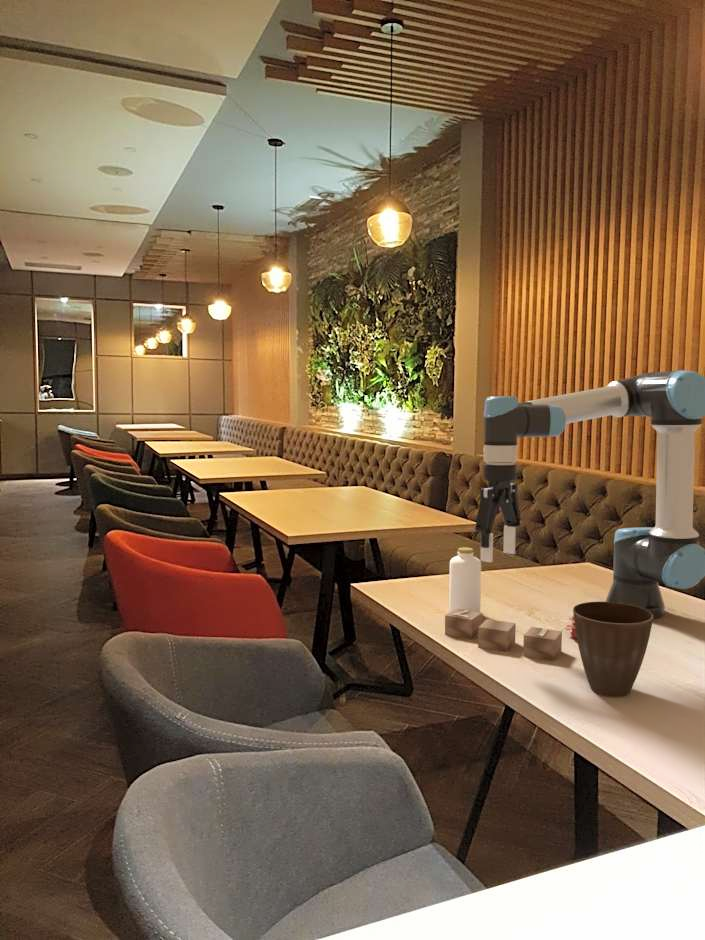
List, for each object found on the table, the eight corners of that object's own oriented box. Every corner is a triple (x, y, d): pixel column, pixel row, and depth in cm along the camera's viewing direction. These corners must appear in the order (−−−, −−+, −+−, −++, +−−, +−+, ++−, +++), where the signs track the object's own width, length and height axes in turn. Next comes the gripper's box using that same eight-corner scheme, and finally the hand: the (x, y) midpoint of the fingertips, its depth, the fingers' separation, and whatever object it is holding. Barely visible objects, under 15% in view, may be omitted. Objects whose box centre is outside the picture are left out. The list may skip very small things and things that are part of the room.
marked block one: (561, 652, 169) (562, 630, 169) (554, 661, 163) (555, 639, 163) (530, 647, 172) (531, 625, 172) (523, 656, 166) (523, 634, 166)
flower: (613, 628, 180) (594, 600, 183) (614, 632, 172) (594, 602, 174) (578, 648, 182) (560, 619, 185) (577, 652, 174) (558, 622, 176)
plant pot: (658, 708, 138) (661, 624, 136) (575, 702, 141) (578, 620, 139) (641, 678, 153) (644, 603, 151) (567, 674, 155) (569, 599, 154)
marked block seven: (482, 632, 184) (482, 611, 184) (471, 639, 178) (471, 618, 178) (456, 627, 188) (456, 607, 187) (444, 635, 182) (445, 614, 181)
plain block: (515, 643, 175) (515, 623, 175) (507, 652, 169) (508, 631, 169) (486, 639, 178) (486, 619, 178) (478, 648, 172) (478, 627, 172)
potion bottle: (442, 614, 198) (443, 549, 196) (460, 608, 204) (461, 544, 202) (468, 621, 192) (469, 553, 191) (486, 614, 199) (487, 548, 197)
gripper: (507, 459, 181) (506, 547, 183) (460, 465, 163) (459, 563, 165) (536, 460, 177) (534, 551, 179) (490, 467, 158) (489, 568, 160)
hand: (498, 557), depth 172 cm, fingers open, 11 cm apart
